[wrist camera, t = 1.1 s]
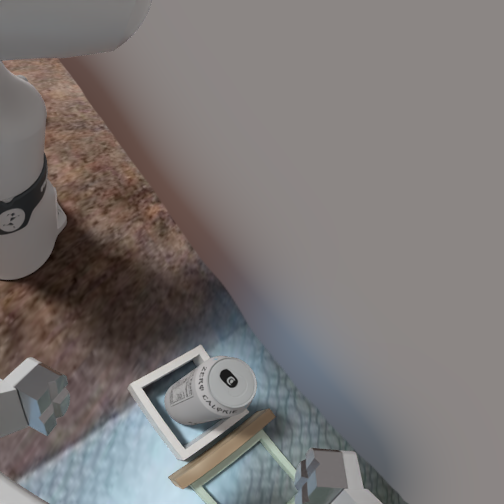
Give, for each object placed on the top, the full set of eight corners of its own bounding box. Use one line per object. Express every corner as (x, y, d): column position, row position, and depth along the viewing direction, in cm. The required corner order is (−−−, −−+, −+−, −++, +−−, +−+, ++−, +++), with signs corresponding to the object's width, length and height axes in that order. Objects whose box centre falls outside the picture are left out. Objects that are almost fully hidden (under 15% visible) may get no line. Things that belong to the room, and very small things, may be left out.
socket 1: (127, 387, 34) (129, 384, 32) (193, 350, 42) (201, 344, 40) (177, 459, 32) (183, 460, 30) (239, 414, 39) (249, 412, 37)
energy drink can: (185, 434, 34) (235, 428, 24) (153, 400, 35) (186, 378, 25) (215, 405, 39) (274, 383, 28) (185, 373, 39) (231, 338, 29)
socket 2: (188, 483, 30) (190, 484, 30) (258, 429, 39) (262, 428, 38) (248, 545, 27) (252, 547, 27) (308, 488, 36) (312, 489, 35)
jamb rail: (167, 476, 30) (175, 479, 27) (256, 411, 41) (269, 408, 38) (175, 485, 30) (183, 489, 27) (262, 419, 40) (275, 416, 38)
